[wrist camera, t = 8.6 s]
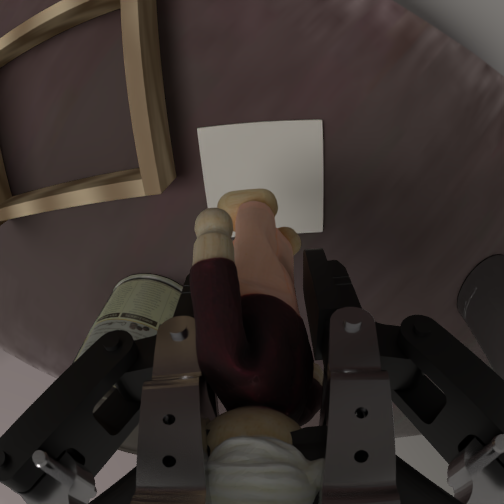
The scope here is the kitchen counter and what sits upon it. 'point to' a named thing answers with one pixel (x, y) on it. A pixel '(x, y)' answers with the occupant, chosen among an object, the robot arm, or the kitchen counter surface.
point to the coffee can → (135, 319)
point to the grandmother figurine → (253, 352)
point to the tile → (268, 166)
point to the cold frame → (140, 102)
